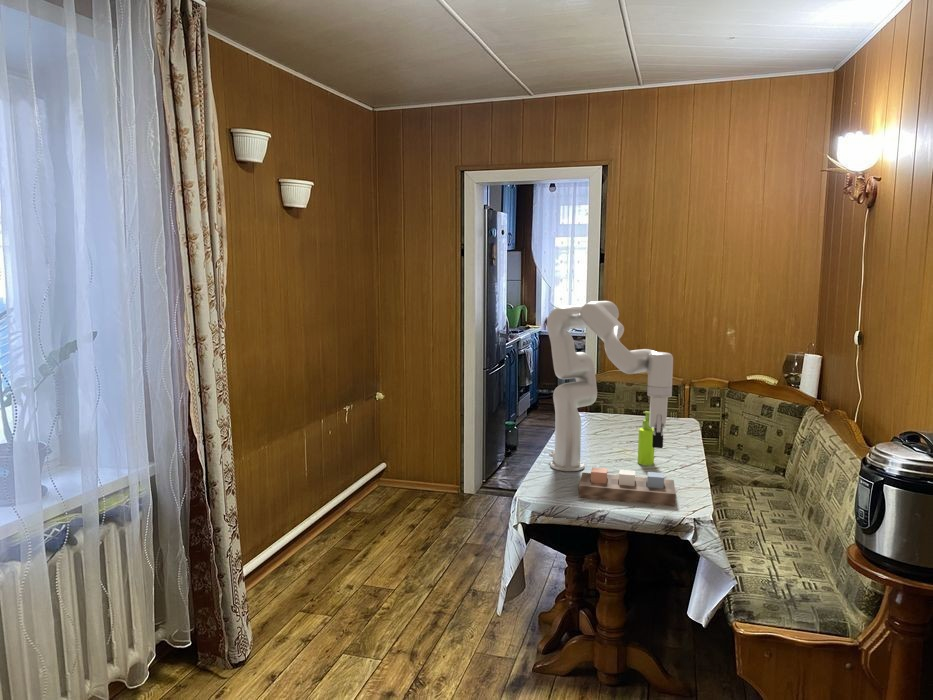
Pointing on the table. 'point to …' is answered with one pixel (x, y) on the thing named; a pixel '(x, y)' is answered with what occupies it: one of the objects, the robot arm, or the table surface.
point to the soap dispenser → (646, 442)
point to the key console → (627, 491)
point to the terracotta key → (599, 475)
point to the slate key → (655, 480)
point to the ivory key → (627, 477)
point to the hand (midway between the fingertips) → (657, 447)
